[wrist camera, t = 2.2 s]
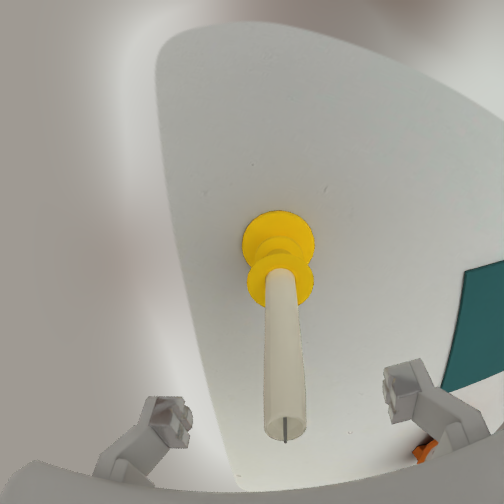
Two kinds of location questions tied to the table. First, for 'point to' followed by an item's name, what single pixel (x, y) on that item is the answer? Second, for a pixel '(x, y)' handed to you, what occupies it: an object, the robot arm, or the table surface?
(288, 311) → the candle
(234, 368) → the table surface
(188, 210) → the table surface
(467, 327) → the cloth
